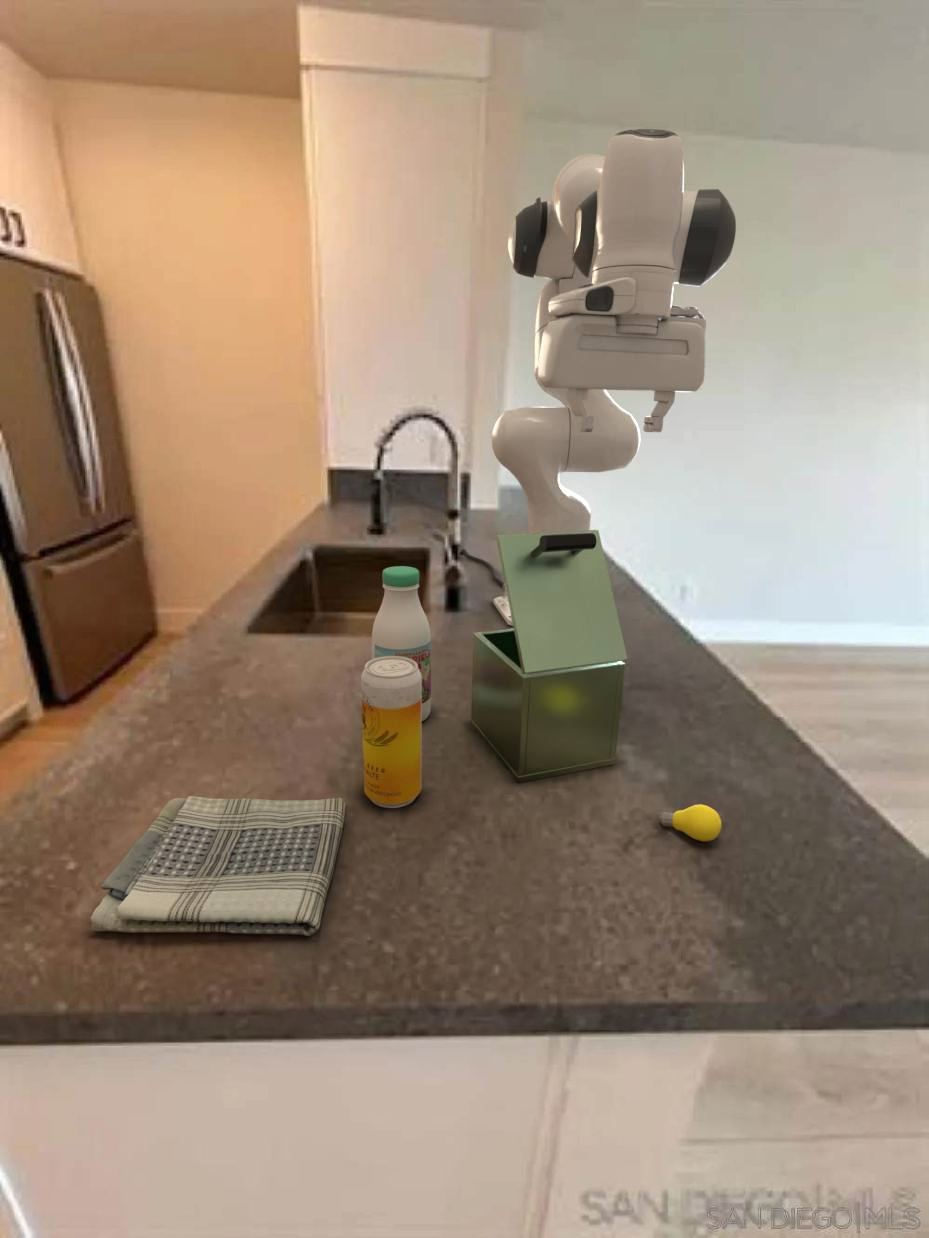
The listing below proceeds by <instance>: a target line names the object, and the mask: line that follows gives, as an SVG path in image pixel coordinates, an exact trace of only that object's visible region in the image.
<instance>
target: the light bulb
mask: <svg viewBox="0 0 929 1238" xmlns="http://www.w3.org/2000/svg"><path fill="white" fill-rule="evenodd" d="M658 818H659V822H660V823H661V825H662V826H663V827H670V828H671V827H672V828H674V829H675V830H676V831H679V832H683V833H684V834H685V835H687V836H688V837H690V838H692V839H694V840H697V841H700V842H702V843H703V842H710V841H713V840H715V839H716V838H717V837H718V836H719V834H720V832H721V831H722V819H721V816H720V814H719V813H718V812H717V811H716V809H713V808H712V807H711V806H708V805H705V804H701V803H700V804H693V805H691V806H689V807H687V808H684V809H681V810H676V811H675V812H670V811H669V812H667V811H663V812H662V814H661V815H660V816H659V817H658Z"/></svg>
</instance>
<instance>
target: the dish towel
mask: <svg viewBox="0 0 929 1238" xmlns="http://www.w3.org/2000/svg"><path fill="white" fill-rule="evenodd" d="M346 812H347V803H346V802H345V800H344V799H343V798H341V797H335V798H334V797H333V798H321V799H306V800H303V799H299V800H296V799H288V800H274V799H260V798H207V797H201V796H193V795H192V796H191V795H189V796H188V797H187V798H184V797H174V798H173V799H170V800H168V802H167V803H166V804H165V805H164V806H163V807H162V809H161V811H160V812H159V813H158V814H157V817H156V818H155V820H154V821H152V822H151V824H150V825H149V827H148V829H147V830H146V831H145V832H144V833H143V834H142V835H141V836H140V837H139V839H138V840H137V841H136V842H135V843H134V844H132V847H131V848H130V849H129V851H128V852H127V854H126V855H125V856H123V858H122V859H121V861H120V862H119V863H118V864H117V866H116V867H115V868H114V869H113V870H112V872H111V873H110V874H109V875H107V877H106V878H105V880H104V881H103V883H102V884H101V885H100V887H101V889H102V890H105V891H106V890H109V891H108V893H107V894H106V895H105V896H104V897H103V898H102V900H101V901H100V903H99V905H98V906H97V907H96V908H95V909H94V911H93V912H92V915H90V918H89V919H90V923H91V925H90V931H92V932H115V933H116V932H117V933H118V932H119V933H133V934H135V933H150V934H151V933H228V934H229V933H230V934H245V935H246V934H247V935H248V934H250V935H254V934H255V935H300V936H305V937H311V936H312V935H314V934H315V933H317V932H318V930H319V929H320V926H321V921H322V917H323V910H324V908H325V903H326V899H327V895H328V891H329V889H330V884H331V882H332V878H333V876H334V871H335V865H336V861H337V855H338V852H339V847H340V843H341V841H342V840H341V839H342V835H343V829H344V825H345V821H346V814H347V813H346Z"/></svg>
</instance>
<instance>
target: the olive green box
mask: <svg viewBox="0 0 929 1238" xmlns="http://www.w3.org/2000/svg"><path fill="white" fill-rule="evenodd" d="M472 637H473V639H472V673H471V674H472V676H471V708H470V709H471V710H470V712H471V713H470V726H471V727H472V728H473V729H474V731H475V732H476V733H477V734H478V735H479V737H480V738H481V739H482V740H483V742H484V743H485V744H486V745H487V746H488V748H489V749H490V751H491V752H492V753H493V754H494V756H496V758H497V759H498V760H499V762H500V763H501V764H502V765H503V766H504V767H505V769H506V770H507V772H508V773H509V774H510V775H511V777H513V779H514V780H515V781H516V783H517V784H519V783H525V782H530V781H536V780H541V779H545V778H551V777H557V776H562V775H567V774H571V773H577V772H582V771H586V770H593V769H597V768H602V767H607V766H608V767H609V766H613V765H616V758H617V757H616V756H617V747H618V740H619V739H618V738H619V730H620V729H619V728H620V721H621V719H620V718H621V709H622V701H623V691H624V682H625V672H626V671H625V670H626V663H625V662H624V661H618V662H611V663H603V664H596V665H588V666H581V667H573V668H566V669H558V670H551V671H544V672H536V673H529V674H522V669H521V663H520V658H519V653H518V648H517V643H516V638H515V632H514V628H506V629H497V630H488V631H479V632H473V635H472Z"/></svg>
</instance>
